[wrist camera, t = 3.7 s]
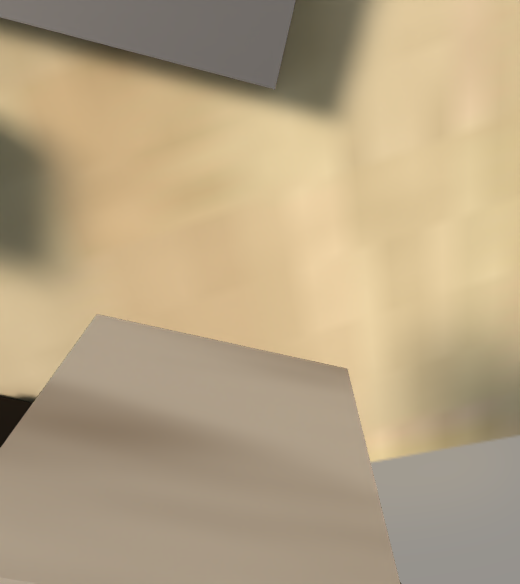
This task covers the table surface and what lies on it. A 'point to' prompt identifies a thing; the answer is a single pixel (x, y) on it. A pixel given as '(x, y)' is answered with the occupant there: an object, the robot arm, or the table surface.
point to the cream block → (189, 469)
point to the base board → (175, 30)
